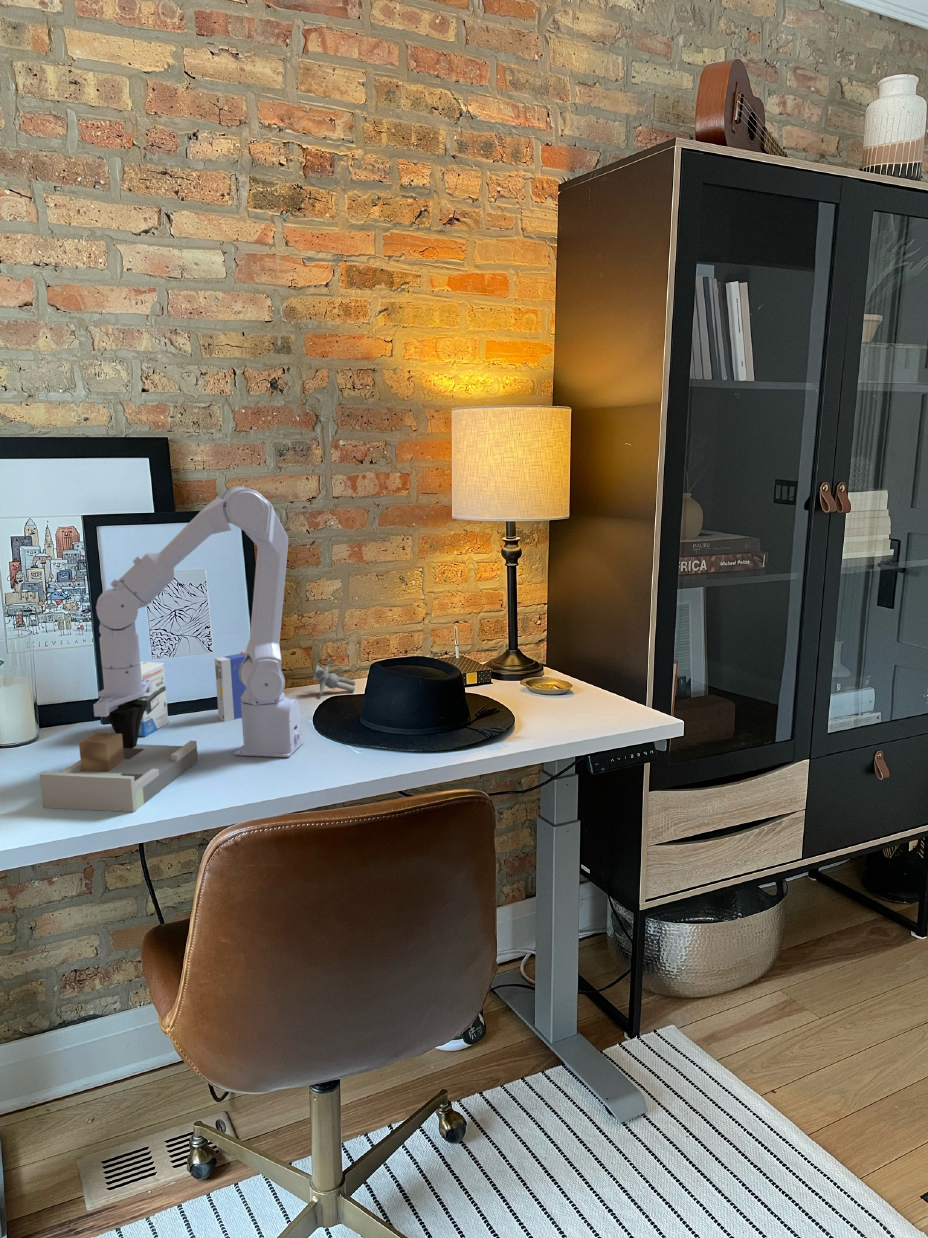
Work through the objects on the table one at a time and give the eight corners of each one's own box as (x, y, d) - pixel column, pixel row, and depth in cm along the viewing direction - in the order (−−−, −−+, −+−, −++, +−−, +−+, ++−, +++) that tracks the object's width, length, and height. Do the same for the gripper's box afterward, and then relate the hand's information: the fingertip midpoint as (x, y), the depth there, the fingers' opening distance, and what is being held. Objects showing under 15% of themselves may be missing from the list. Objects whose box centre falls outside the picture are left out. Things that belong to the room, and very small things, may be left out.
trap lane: (197, 761, 151) (195, 732, 150) (133, 812, 131) (130, 778, 130) (118, 757, 153) (115, 729, 152) (43, 807, 133) (39, 774, 132)
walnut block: (124, 761, 144) (122, 733, 143) (108, 771, 140) (106, 743, 139) (98, 759, 145) (95, 732, 144) (81, 769, 141) (78, 741, 140)
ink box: (145, 737, 164) (139, 673, 161) (120, 736, 165) (114, 672, 162) (169, 723, 172) (165, 661, 170) (145, 721, 173) (140, 660, 171)
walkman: (253, 709, 179) (250, 649, 177) (261, 712, 177) (257, 652, 175) (217, 718, 174) (212, 656, 172) (224, 721, 172) (220, 659, 170)
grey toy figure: (355, 700, 186) (312, 687, 184) (346, 714, 190) (304, 702, 188) (362, 660, 192) (321, 647, 190) (354, 675, 197) (313, 663, 194)
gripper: (121, 653, 153) (128, 731, 156) (71, 675, 139) (80, 761, 142) (161, 654, 152) (167, 733, 155) (115, 677, 138) (123, 763, 141)
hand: (128, 747), depth 148 cm, fingers closed
